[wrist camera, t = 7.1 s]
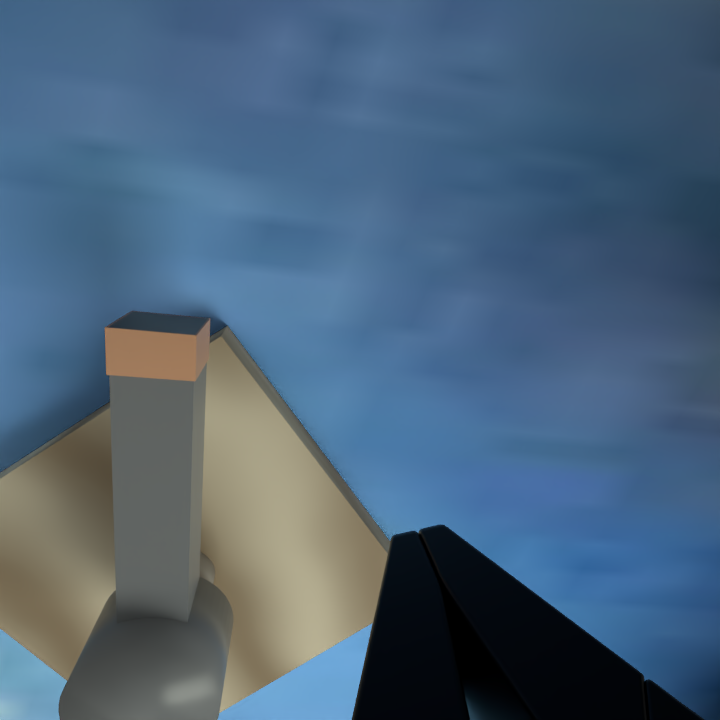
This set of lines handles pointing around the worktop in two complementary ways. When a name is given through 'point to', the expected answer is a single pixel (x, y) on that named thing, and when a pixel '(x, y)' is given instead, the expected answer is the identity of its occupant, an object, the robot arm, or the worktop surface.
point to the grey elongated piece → (155, 537)
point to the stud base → (218, 533)
